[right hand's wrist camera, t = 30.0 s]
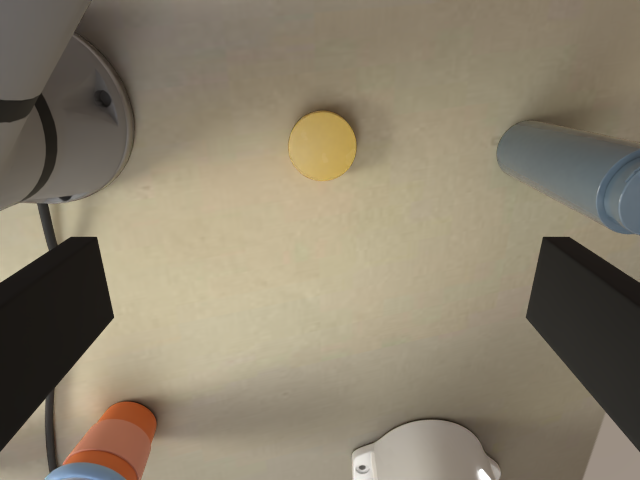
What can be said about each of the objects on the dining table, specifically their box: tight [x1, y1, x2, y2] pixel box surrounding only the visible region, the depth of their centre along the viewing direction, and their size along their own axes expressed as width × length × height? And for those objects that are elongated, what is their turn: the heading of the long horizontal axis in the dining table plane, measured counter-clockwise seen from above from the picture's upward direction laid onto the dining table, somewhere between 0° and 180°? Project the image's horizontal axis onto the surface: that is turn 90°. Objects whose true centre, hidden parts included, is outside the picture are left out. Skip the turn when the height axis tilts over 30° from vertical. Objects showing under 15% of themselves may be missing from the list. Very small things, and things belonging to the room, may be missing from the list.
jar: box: [497, 120, 640, 235], centre depth 30 cm, size 5×5×16 cm
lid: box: [288, 111, 356, 181], centre depth 37 cm, size 6×6×2 cm
